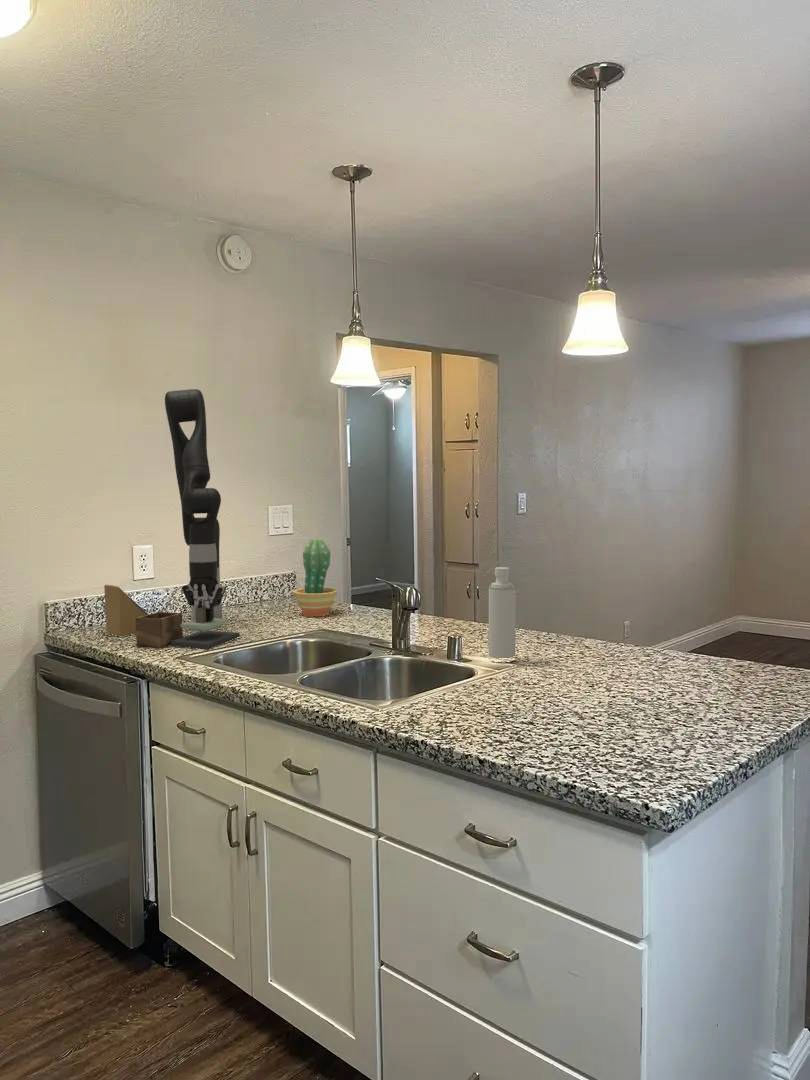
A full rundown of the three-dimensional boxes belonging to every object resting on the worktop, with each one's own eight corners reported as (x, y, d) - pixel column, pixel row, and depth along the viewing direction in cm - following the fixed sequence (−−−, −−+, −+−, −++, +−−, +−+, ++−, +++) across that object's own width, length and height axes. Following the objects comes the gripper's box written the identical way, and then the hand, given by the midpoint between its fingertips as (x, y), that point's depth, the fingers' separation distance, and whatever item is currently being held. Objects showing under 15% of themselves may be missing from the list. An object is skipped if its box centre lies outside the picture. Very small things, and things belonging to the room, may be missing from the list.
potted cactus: (348, 613, 273) (347, 539, 271) (314, 620, 262) (312, 542, 260) (317, 608, 283) (316, 536, 281) (282, 615, 272) (281, 540, 270)
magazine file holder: (167, 629, 249) (165, 581, 248) (120, 637, 238) (118, 586, 237) (152, 626, 255) (150, 578, 254) (106, 634, 244) (104, 584, 242)
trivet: (204, 635, 240) (204, 630, 240) (239, 637, 236) (239, 632, 236) (170, 646, 225) (170, 641, 225) (207, 649, 221) (207, 644, 221)
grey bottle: (506, 664, 201) (507, 563, 199) (483, 660, 205) (483, 562, 203) (520, 659, 207) (520, 561, 204) (497, 655, 211) (497, 559, 208)
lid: (202, 624, 236) (202, 603, 236) (228, 626, 233) (227, 605, 233) (180, 631, 226) (179, 609, 226) (207, 632, 223) (206, 611, 223)
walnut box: (159, 639, 235) (158, 611, 234) (182, 641, 232) (181, 613, 231) (136, 646, 225) (135, 617, 224) (160, 648, 222) (159, 619, 222)
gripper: (231, 559, 229) (233, 620, 231) (190, 557, 234) (191, 617, 236) (216, 561, 222) (218, 624, 224) (173, 560, 227) (175, 621, 229)
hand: (204, 620), depth 230 cm, fingers closed on lid, 2 cm apart
